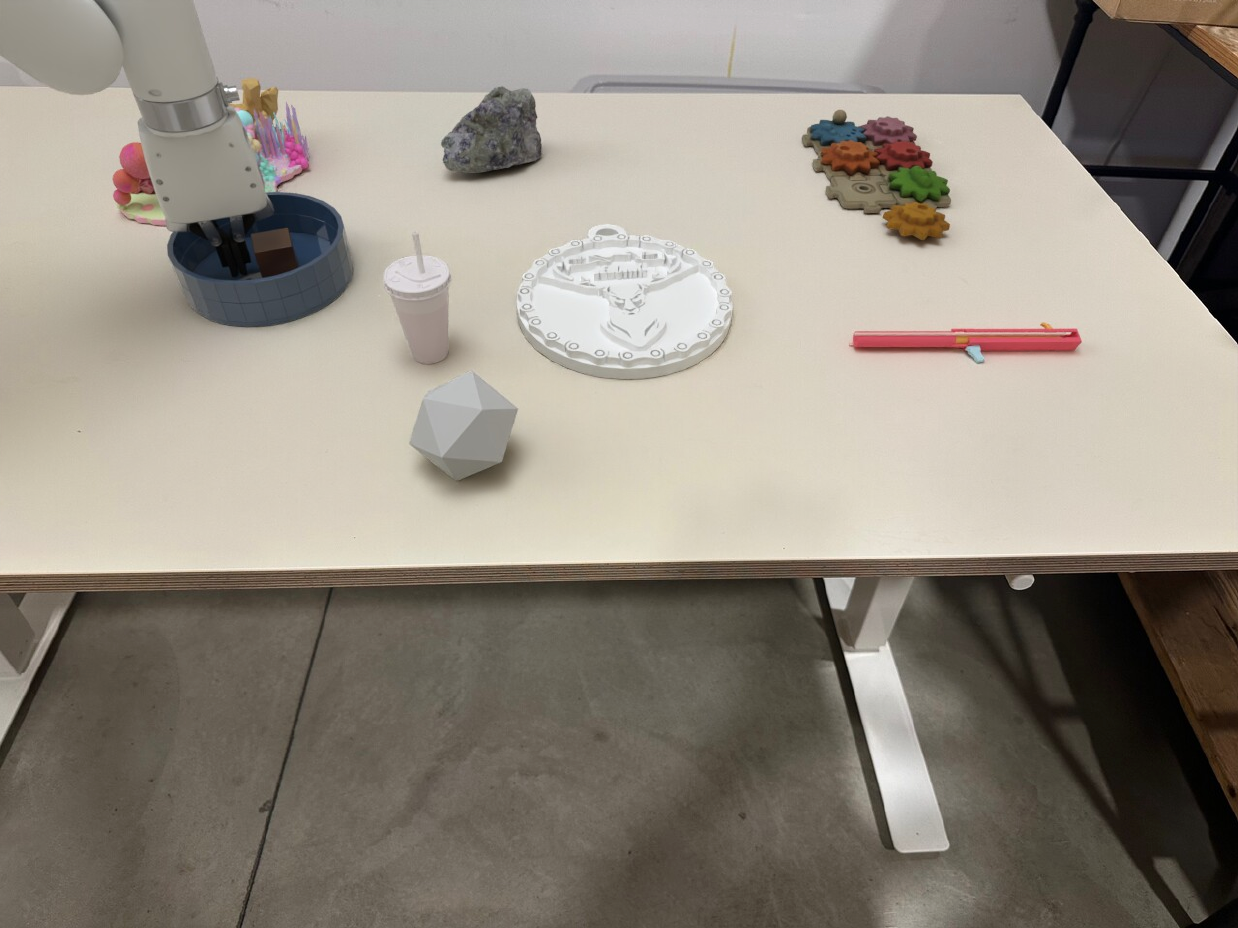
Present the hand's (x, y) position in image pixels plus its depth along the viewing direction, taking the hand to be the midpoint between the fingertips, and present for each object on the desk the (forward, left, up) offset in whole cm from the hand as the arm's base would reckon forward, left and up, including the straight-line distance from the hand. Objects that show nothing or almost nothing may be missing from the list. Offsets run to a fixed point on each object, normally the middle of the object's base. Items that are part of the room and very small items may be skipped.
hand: (239, 269), depth 95 cm
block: (+4, 0, -1) cm, 4 cm away
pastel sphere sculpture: (-1, +26, -2) cm, 26 cm away
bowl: (+3, 0, -2) cm, 3 cm away
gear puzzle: (+81, -4, -2) cm, 81 cm away
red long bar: (+70, -37, -2) cm, 79 cm away
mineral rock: (+34, +18, -2) cm, 38 cm away
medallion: (+39, -17, -2) cm, 43 cm away
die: (+17, -35, -2) cm, 39 cm away
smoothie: (+17, -19, -2) cm, 26 cm away
